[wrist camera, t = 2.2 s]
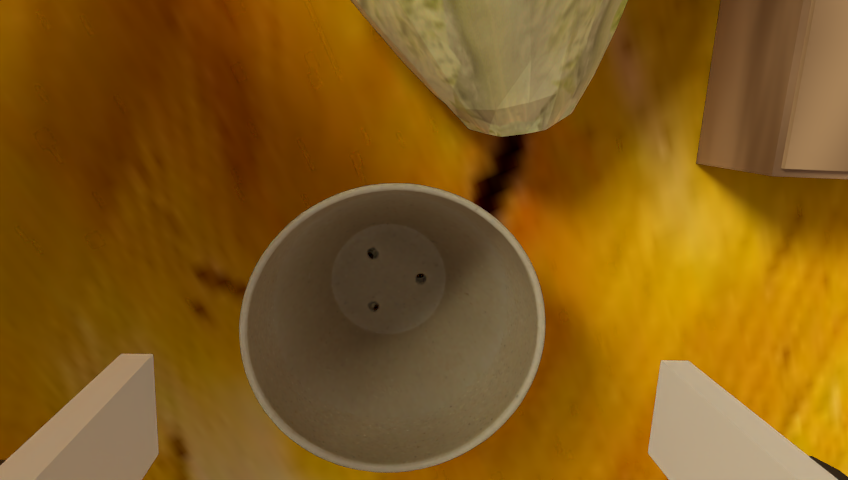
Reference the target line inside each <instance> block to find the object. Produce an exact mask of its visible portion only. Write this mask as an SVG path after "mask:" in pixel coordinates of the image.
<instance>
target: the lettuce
mask: <svg viewBox="0 0 848 480" xmlns="http://www.w3.org/2000/svg"><path fill="white" fill-rule="evenodd" d="M351 1H352V3H353V4H354V5H355V6H356V8H357V9H358V10H359V11H360V12H361V13H362V15H363V16H364V17H365V18H366V19H367V20H368V22H369V23H370V24H371V25H372V26H373V28H374V29H375V30H376V31H377V32H378V33H379V35H380V36H381V37H382V38H383V39H384V40H385V42H386V43H387V44H388V45H389V46H390V48H391V49H392V50H393V51H394V52H395V53H396V55H397V56H398V57H399V58H400V59H401V60H402V62H403V63H404V64H405V65H406V66H407V67H408V68H409V69H410V70H411V71H412V72H413V73H414V74H415V75H416V76H417V77H418V78H419V79H420V80H421V81H422V82H423V83H424V84H425V86H426V87H427V88H428V89H429V90H430V91H431V92H432V93H433V94H434V95H435V96H437V97H438V98H439V99H440V100H441V101H443V102H444V103H445V104H446V105H447V106H448V107H449V108H450V109H451V110H452V111H453V113H454V114H455V115H456V116H457V117H458V118H459V119H460V120H461V121H462V122H463V123H464V124H465V125H466V126H467V128H468V129H470V130H474V131H478V132H481V133H485V134H489V135H494V136H500V137H504V136H513V135H521V134H528V133H533V132H538V131H543V130H546V129H548V128H549V127H551V126H553V125H554V124H556V123H557V122H559V121H560V120H562V119H564V118H565V117H567V116H568V115H570V114H571V113H572V112H573V110H574V109H575V107H576V105H577V103H578V102H579V100H580V98H581V97H582V95H583V93H584V91H585V90H586V88H587V86H588V85H589V83H590V81H591V79H592V78H593V76H594V74H595V72H596V70H597V68H598V66H599V64H600V62H601V60H602V57H603V55H604V53H605V51H606V49H607V47H608V45H609V43H610V41H611V39H612V37H613V34H614V32H615V30H616V28H617V26H618V23H619V21H620V18H621V16H622V14H623V11H624V9H625V6H626V4H627V1H628V0H351Z"/></svg>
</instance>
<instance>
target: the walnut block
mask: <svg viewBox="0 0 848 480" xmlns="http://www.w3.org/2000/svg"><path fill="white" fill-rule="evenodd" d="M696 164H702V165H708V166H714V167H720V168H726V169H732V170H738V171H744V172H750V173H756V174H762V175H768V176H779V177H804V178H829V179H848V0H721V2H720V8H719V15H718V22H717V28H716V35H715V42H714V48H713V55H712V62H711V68H710V75H709V81H708V88H707V95H706V101H705V108H704V115H703V121H702V128H701V135H700V141H699V148H698V155H697V161H696Z"/></svg>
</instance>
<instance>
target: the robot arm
mask: <svg viewBox="0 0 848 480" xmlns="http://www.w3.org/2000/svg"><path fill="white" fill-rule="evenodd" d="M158 454H159V450H158V432H157V414H156V395H155V377H154V359H153V354H120V355H119V356H118V357H117V358H116V359H115V360H114V361H113V362H112V363H110V364H109V365H108V366H107V367H106V368H105V369H104V370H103V371H102V372H101V373H100V374H99V375H97V376H96V377H95V378H94V379H93V380H92V381H91V382H90V383H89V384H88V385H87V386H86V387H85V388H83V389H82V390H81V391H80V392H79V393H78V394H77V395H76V396H75V397H74V398H73V399H72V400H70V401H69V402H68V403H67V404H66V405H65V406H64V407H63V408H62V409H61V410H60V411H59V412H58V413H56V414H55V415H54V416H53V417H52V418H51V419H50V420H49V421H48V422H47V423H46V424H45V425H43V426H42V427H41V428H40V429H39V430H38V431H37V432H36V433H35V434H34V435H33V436H32V437H31V438H29V439H28V440H27V441H26V442H25V443H24V444H23V445H22V446H21V447H20V448H19V449H18V450H16V451H15V452H14V453H13V454H12V455H11V456H10V457H9V458H8V459H7V460H0V480H142V479H143V477H144V476H145V474H146V473H147V471H148V469H149V468H150V466H151V465H152V463H153V462H154V460H155V459H156V457H157V456H158ZM648 454H649V455H650V456H651V458H652V459H653V460H654V461H655V463H656V464H657V465H658V466H659V468H660V469H661V470H662V472H663V473H664V474H665V475H666V477H667V478H668V479H669V480H848V477H847V476H846V475H845V474H843V473H842V472H841V471H839V470H837V469H836V468H834V467H832V466H830V465H828V464H826V463H824V462H822V461H820V460H818V459H816V458H814V457H812V456H808V455H806V454H805V453H804V452H803V451H801V450H800V449H799V448H798V447H796V446H795V445H794V444H793V443H791V442H790V441H789V440H788V439H786V438H785V437H784V436H782V435H781V434H780V433H779V432H777V431H776V430H775V429H774V428H772V427H771V426H770V425H769V424H767V423H766V422H765V421H764V420H762V419H761V418H760V417H759V416H757V415H756V414H755V413H754V412H752V411H751V410H750V409H748V408H747V407H746V406H745V405H743V404H742V403H741V402H740V401H738V400H737V399H736V398H735V397H733V396H732V395H731V394H730V393H728V392H727V391H726V390H725V389H723V388H722V387H721V386H720V385H718V384H717V383H716V382H715V381H713V380H712V379H711V378H709V377H708V376H707V375H706V374H704V373H703V372H702V371H701V370H699V369H698V368H697V367H696V366H694V365H693V364H692V363H691V362H689V361H668V360H661V364H660V371H659V378H658V385H657V392H656V399H655V406H654V413H653V420H652V427H651V434H650V441H649V448H648Z"/></svg>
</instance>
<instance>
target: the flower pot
mask: <svg viewBox="0 0 848 480" xmlns="http://www.w3.org/2000/svg"><path fill="white" fill-rule="evenodd" d="M368 252H371V253H372V254H373V258H371V257H369V255H368ZM418 274H424V276H423V277H417V275H418ZM375 305H379V306H378V309H377V310H374V306H375ZM239 339H240V349H241V355H242V361H243V365H244V369H245V373H246V376H247V379H248V381H249V384H250V386H251V388H252V390H253V392H254V394H255V396H256V398H257V400H258V402H259V404H260V405H261V407H262V408H263V410H264V411H265V412H266V414H267V415H268V416H269V417H270V418H271V420H272V421H273V422H274V423H275V424H276V425H277V427H278V428H279V429H280V430H281V431H282V432H283V433H284V434H285V435H287V436H288V437H289V438H290V439H291V440H293V441H294V442H295V443H297V444H298V445H300V446H301V447H302V448H304V449H306V450H307V451H309V452H311V453H312V454H314V455H316V456H318V457H320V458H322V459H325V460H328V461H330V462H332V463H335V464H337V465H341V466H344V467H348V468H352V469H357V470H364V471H371V472H385V473H386V472H406V471H412V470H418V469H423V468H427V467H431V466H435V465H438V464H441V463H444V462H446V461H449V460H451V459H454V458H456V457H458V456H460V455H462V454H464V453H466V452H468V451H469V450H471V449H473V448H474V447H476V446H477V445H479V444H480V443H482V442H483V441H485V440H486V439H487V438H489V437H490V436H491V435H493V434H494V433H495V432H496V431H497V430H498V429H499V428H500V427H501V426H502V425H503V424H504V423H505V422H506V421H507V420H508V419H509V418H510V416H511V415H512V414H513V413H514V412H515V411H516V409H517V408H518V406H519V405H520V403H521V402H522V400H523V399H524V397H525V395H526V394H527V392H528V390H529V388H530V386H531V384H532V382H533V380H534V377H535V375H536V373H537V370H538V366H539V363H540V360H541V356H542V351H543V347H544V340H545V308H544V301H543V295H542V291H541V287H540V284H539V280H538V278H537V275H536V272H535V270H534V268H533V266H532V263H531V262H530V260H529V258H528V256H527V254H526V253H525V251H524V250H523V248H522V246H521V245H520V243H519V242H518V241H517V239H516V238H515V237H514V236H513V235H512V234H511V233H510V232H509V230H508V229H507V228H506V227H505V226H504V225H503V224H502V223H501V222H500V221H498V220H497V219H496V218H495V217H494V216H492V215H491V214H490V213H488V212H487V211H485V210H484V209H482V208H481V207H479V206H478V205H476V204H474V203H473V202H471V201H469V200H467V199H465V198H463V197H460V196H458V195H456V194H453V193H450V192H447V191H444V190H441V189H437V188H433V187H429V186H424V185H418V184H409V183H384V184H374V185H368V186H362V187H358V188H354V189H350V190H347V191H345V192H342V193H339V194H336V195H334V196H331V197H329V198H327V199H325V200H323V201H321V202H319V203H318V204H316V205H314V206H312V207H311V208H309V209H308V210H306V211H304V212H303V213H301V214H300V215H299V216H297V217H296V218H295V219H294V220H293V221H291V222H290V223H289V224H288V225H287V226H286V227H285V228H284V229H283V230H282V231H281V232H280V233H279V234H278V235H277V236H276V237H275V239H274V240H273V241H272V242H271V243H270V245H269V246H268V247H267V249H266V250H265V251H264V253H263V254H262V256H261V258H260V259H259V261H258V263H257V264H256V266H255V268H254V270H253V272H252V275H251V277H250V280H249V282H248V285H247V287H246V290H245V294H244V297H243V302H242V307H241V313H240V321H239Z"/></svg>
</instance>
